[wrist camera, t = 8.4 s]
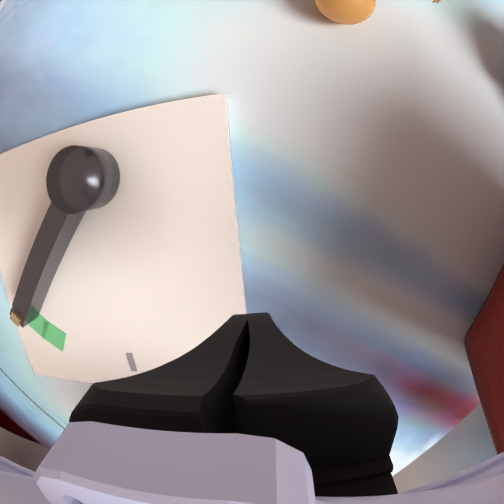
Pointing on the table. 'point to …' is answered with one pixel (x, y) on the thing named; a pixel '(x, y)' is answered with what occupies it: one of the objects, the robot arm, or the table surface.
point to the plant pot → (490, 360)
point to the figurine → (347, 10)
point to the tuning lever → (63, 220)
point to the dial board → (131, 243)
